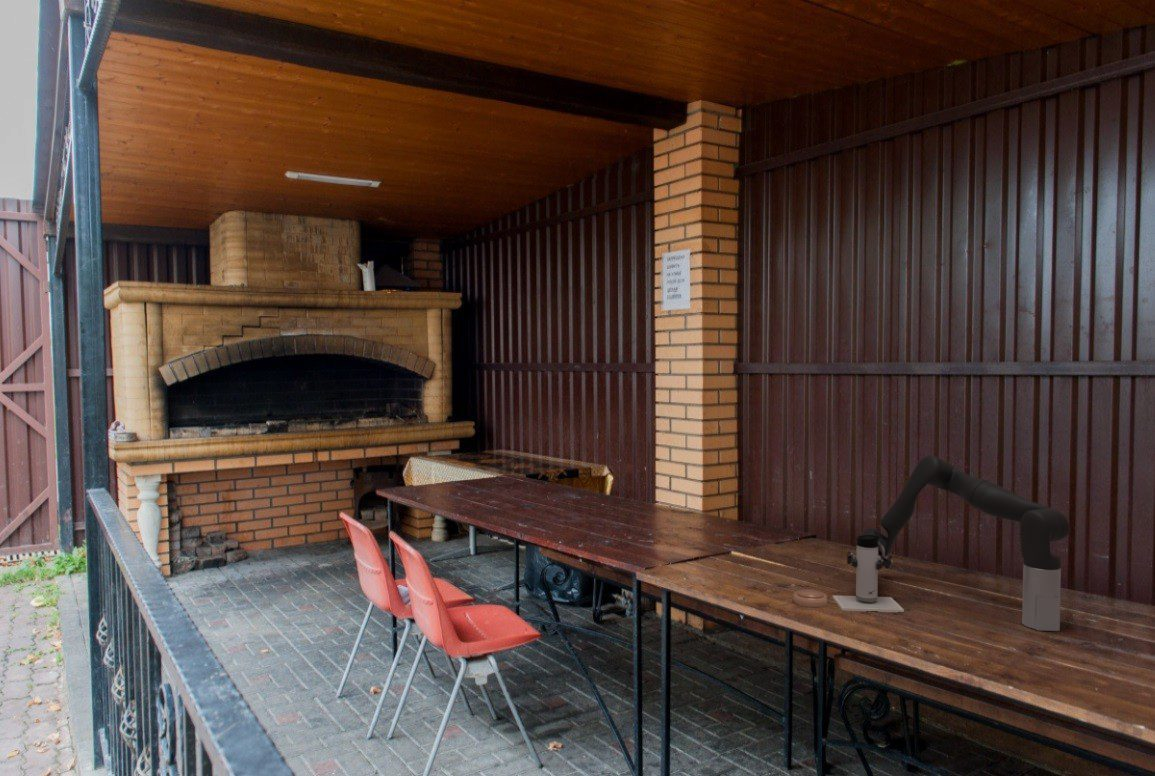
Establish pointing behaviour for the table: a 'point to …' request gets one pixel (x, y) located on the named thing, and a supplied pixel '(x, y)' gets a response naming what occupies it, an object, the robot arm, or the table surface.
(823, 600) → the tan round domed disc
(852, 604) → the tile
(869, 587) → the travel mug
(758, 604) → the table surface
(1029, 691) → the table surface
